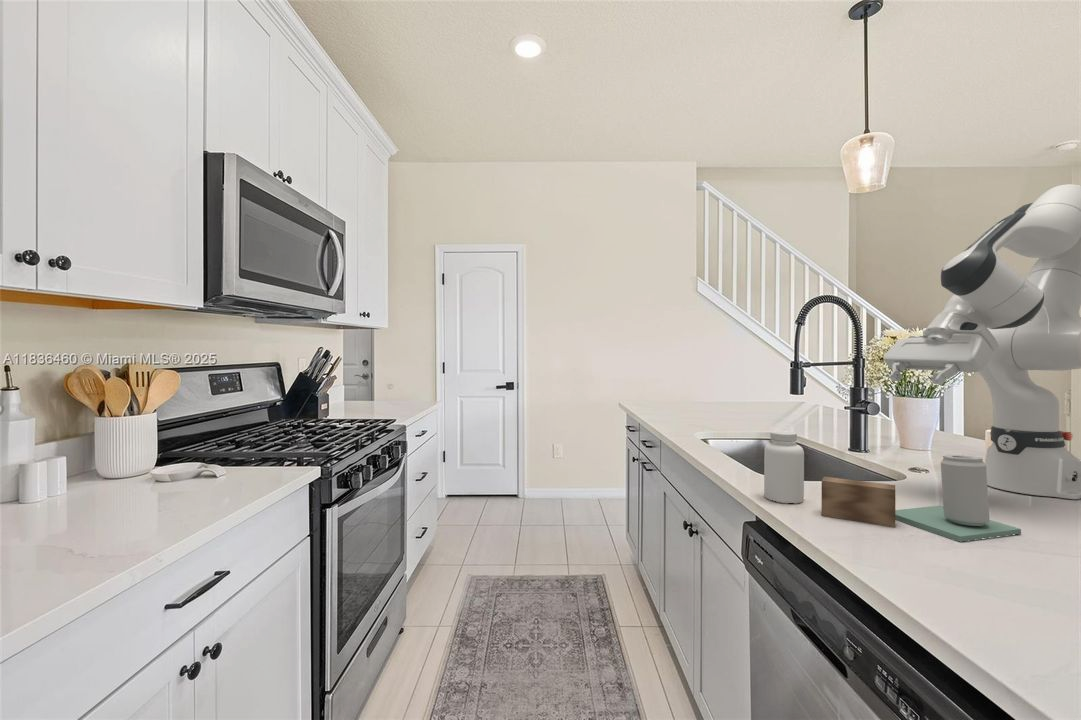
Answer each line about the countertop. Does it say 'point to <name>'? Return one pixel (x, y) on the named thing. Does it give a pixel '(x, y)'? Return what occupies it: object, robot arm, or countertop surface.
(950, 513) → the beverage can
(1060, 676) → the countertop surface
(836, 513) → the walnut screen
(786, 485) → the pill bottle
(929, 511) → the green pad
